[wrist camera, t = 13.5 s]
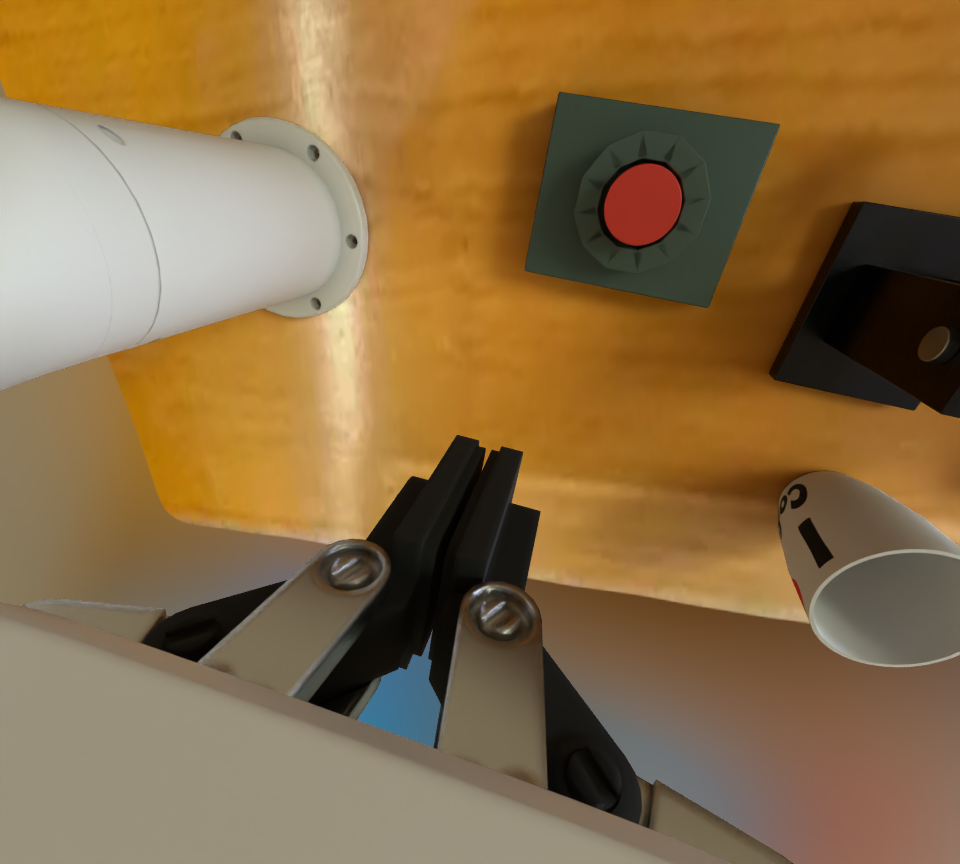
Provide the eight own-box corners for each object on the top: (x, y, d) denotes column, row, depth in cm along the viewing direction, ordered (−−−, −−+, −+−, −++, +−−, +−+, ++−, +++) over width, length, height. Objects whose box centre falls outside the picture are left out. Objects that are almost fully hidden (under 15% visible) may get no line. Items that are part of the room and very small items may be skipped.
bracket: (852, 201, 24) (1034, 198, 14) (1019, 229, 23) (1347, 247, 13) (767, 373, 29) (857, 465, 19) (903, 403, 28) (1077, 517, 18)
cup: (763, 450, 31) (825, 544, 23) (905, 451, 29) (1034, 555, 21) (748, 544, 35) (797, 657, 26) (874, 551, 33) (973, 676, 24)
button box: (528, 266, 30) (519, 274, 26) (562, 100, 25) (555, 83, 22) (701, 301, 28) (715, 315, 25) (767, 130, 24) (794, 117, 20)
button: (595, 236, 25) (595, 238, 23) (615, 160, 23) (616, 157, 22) (662, 249, 24) (666, 252, 23) (687, 172, 23) (693, 170, 21)
